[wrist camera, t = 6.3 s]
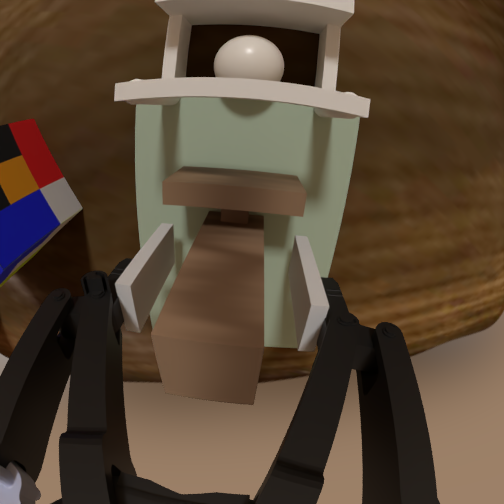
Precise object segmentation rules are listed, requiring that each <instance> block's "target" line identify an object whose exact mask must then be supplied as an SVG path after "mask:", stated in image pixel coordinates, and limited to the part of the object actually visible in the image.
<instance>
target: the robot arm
mask: <svg viewBox="0 0 504 504" xmlns="http://www.w3.org/2000/svg"><path fill="white" fill-rule="evenodd" d="M174 264H175V252H174V227H173V224H168V223H161V225H160V226H159V227H158V228H157V230H156V231H155V232H154V233H153V234H152V236H151V237H150V238H149V239H148V241H147V242H146V243H145V244H144V246H143V247H142V248H141V249H140V251H139V252H138V253H137V255H136V256H135V257H134V258H133V259H128V258H126V259H124V260H123V261H121V262H119V264H118V265H117V266H116V267H115V269H114V270H113V271H112V272H111V274H110V275H109V276H108V277H107V274H106V273H105V272H103V271H91V272H89V273H86V274H85V275H84V276H82V278H81V284H82V287H83V291H84V294H85V296H80V297H72V296H71V293H70V291H69V290H68V289H65V288H59V289H56V290H54V291H52V292H51V293H50V294H49V295H48V296H47V298H46V299H45V300H44V302H43V303H42V305H41V306H40V308H39V309H38V311H37V312H36V314H35V316H34V317H33V319H32V320H31V322H30V323H29V325H28V327H27V328H26V330H25V332H24V333H23V335H22V337H21V338H20V340H19V342H18V344H17V345H16V347H15V349H14V351H13V353H12V354H11V356H10V358H9V360H8V362H7V364H6V366H5V368H4V370H3V372H2V374H1V376H0V504H35V500H36V501H37V500H39V499H40V497H41V494H40V491H39V490H38V488H37V487H36V485H35V482H36V480H37V478H38V476H39V473H40V471H41V468H42V464H43V460H44V456H45V453H46V448H47V445H48V441H49V437H50V433H51V430H52V426H53V423H54V420H55V416H56V413H57V410H58V407H59V404H60V401H61V398H62V395H63V392H64V389H65V386H66V384H67V381H68V378H69V375H70V373H71V378H70V388H69V401H68V402H69V403H68V424H67V431H66V432H65V433H62V434H61V436H60V439H59V466H60V482H61V493H62V498H61V499H59V500H57V501H55V502H53V503H51V504H316V503H317V500H318V498H319V495H320V493H321V490H322V487H323V484H324V477H323V472H324V469H325V466H326V463H327V460H328V456H329V454H330V450H331V447H332V444H333V441H334V437H335V434H336V431H337V427H338V424H339V420H340V416H341V412H342V409H343V404H344V400H345V396H346V392H347V387H348V383H349V378H350V374H351V369H355V370H356V372H357V382H358V392H359V404H360V417H361V433H362V459H363V460H362V461H363V497H362V504H440V503H439V500H438V498H437V489H436V479H435V471H434V463H433V456H432V450H431V443H430V438H429V432H428V428H427V423H426V418H425V413H424V408H423V405H422V400H421V396H420V392H419V388H418V384H417V380H416V377H415V373H414V370H413V366H412V363H411V359H410V356H409V352H408V349H407V346H406V343H405V340H404V337H403V334H402V332H401V330H400V329H399V328H398V327H397V326H396V325H394V324H392V323H388V322H382V323H379V324H378V325H377V327H376V329H373V328H369V327H365V326H362V325H360V324H359V320H358V319H357V317H355V316H354V315H353V314H351V313H349V311H348V309H347V306H346V303H345V300H344V298H343V297H342V292H341V290H340V287H339V285H338V283H337V282H336V281H335V280H334V279H333V278H326V277H320V274H319V271H318V267H317V264H316V261H315V258H314V255H313V252H312V249H311V246H310V243H309V240H308V237H307V236H298V235H295V238H294V244H293V250H292V255H291V261H290V266H289V272H288V276H289V284H290V291H291V298H292V306H293V314H294V322H295V330H296V338H297V346H298V351H314V350H315V347H316V345H317V346H318V353H317V356H316V358H315V361H314V363H313V366H312V370H311V372H310V375H309V378H308V381H307V383H306V386H305V389H304V391H303V394H302V397H301V399H300V402H299V404H298V407H297V409H296V411H295V414H294V416H293V419H292V421H291V423H290V426H289V428H288V430H287V433H286V435H285V437H284V440H283V442H282V444H281V446H280V449H279V451H278V453H277V455H276V457H275V459H274V461H273V463H272V465H271V467H270V469H269V471H268V474H267V476H266V477H265V480H264V482H263V483H262V485H261V487H260V489H259V490H258V492H257V494H256V496H255V498H254V500H250V499H249V498H250V495H240V494H239V495H238V494H227V493H217V492H216V493H204V494H184V495H183V494H179V493H176V492H174V491H172V490H170V489H167V488H165V487H163V486H161V485H159V484H157V483H154V482H153V481H151V480H148V479H144V478H140V477H137V474H136V471H135V468H134V466H133V464H132V462H131V458H130V451H129V444H128V436H127V429H126V419H125V408H124V394H123V373H122V332H121V329H120V327H121V326H122V324H123V322H124V324H125V328H126V330H128V331H133V332H138V333H140V332H141V330H142V328H143V326H144V324H145V322H146V319H147V317H148V315H149V313H150V311H151V309H152V307H153V305H154V303H155V301H156V299H157V297H158V295H159V293H160V291H161V289H162V287H163V285H164V283H165V281H166V279H167V277H168V275H169V273H170V271H171V269H172V268H173V266H174ZM58 331H59V334H58ZM57 334H58V335H57Z"/></svg>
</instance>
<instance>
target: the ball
mask: <svg viewBox="0 0 504 504" xmlns="http://www.w3.org/2000/svg"><path fill="white" fill-rule="evenodd" d="M214 73H215V76H216V77H223V78H244V79H258V80H268V81H278V82H280V80H281V78H282V76H283V73H284V60H283V57H282V54H281V52H280V51H279V49H278V48H277V47H276V46H275V45H274V44H273V43H272V42H271V41H269V40H267V39H265V38H263V37H260V36H256V35H243V36H238V37H235V38H233V39H231V40H229V41H228V42H226V43H225V44H224V45H223V46H222V47H221V48H220V49H219V51H218V52H217V54H216V57H215V60H214Z"/></svg>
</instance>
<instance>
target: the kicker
mask: <svg viewBox="0 0 504 504" xmlns="http://www.w3.org/2000/svg"><path fill="white" fill-rule="evenodd" d="M306 197H307V193H306V191H305V189H304V187H303V185H302V184H301V182H300V180H299V178H298V176H296V175H288V174H279V173H270V172H260V171H250V170H238V169H225V168H210V167H192V166H183V167H182V168H180V169H179V170H178V171H176V172H175V173H173V174H172V175H171V176H169V177H168V178H166V179H165V180H164V181H162V198H163V205H177V206H191V207H205V208H217V209H221V212H217V211H209V212H208V214H207V216H206V218H205V220H204V222H203V224H202V226H201V228H200V230H199V232H198V234H197V236H196V238H195V240H194V242H193V244H192V246H191V248H190V250H189V252H188V254H187V256H186V258H185V260H184V262H183V264H182V267H181V269H180V271H179V273H178V275H177V277H176V279H175V281H174V284H173V286H172V288H171V290H170V292H169V294H168V297H167V299H166V301H165V303H164V305H163V308H162V310H161V312H160V314H159V317H158V319H157V321H156V324H155V326H154V328H153V330H152V333H151V337H152V342H153V346H154V351H155V355H156V359H157V363H158V367H159V371H160V375H161V379H162V383H163V386H164V390H165V393H167V394H172V395H177V396H183V397H189V398H196V399H202V400H210V401H218V402H227V403H238V404H249V405H253V404H254V399H255V394H256V389H257V384H258V379H259V373H260V368H261V363H262V358H263V352H264V216H261V215H251V214H249V211H251V212H261V213H271V214H281V215H290V216H299V217H303V215H304V209H305V203H306Z"/></svg>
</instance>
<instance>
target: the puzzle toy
mask: <svg viewBox="0 0 504 504" xmlns="http://www.w3.org/2000/svg"><path fill="white" fill-rule="evenodd" d="M82 209H83V208H82V206H81V205H80V203H79V202H78V200H77V198H76V197H75V195H74V193H73V192H72V190H71V188H70V187H69V185H68V183H67V182H66V180H65V178H64V176H63V175H62V173H61V171H60V169H59V168H58V166H57V164H56V162H55V160H54V158H53V157H52V155H51V153H50V151H49V149H48V147H47V145H46V143H45V141H44V139H43V137H42V135H41V133H40V131H39V129H38V127H37V125H36V122H35V120H34V119H29V120H24V121H19V122H15V123H10V124H6V125H2V126H0V287H1V286H2V285H3V284H4V283H5V282H6V281H7V280H8V279H9V278H11V277H12V276H13V275H14V274H15V273H16V272H17V271H18V270H19V269H20V268H21V267H22V266H23V265H25V264H26V263H27V262H28V261H29V260H30V259H31V258H32V257H34V256H35V255H36V254H37V252H38V251H39V250H40V249H41V248H42V247H43V246H44V245H45V244H46V243H47V242H48V241H49V240H50V239H51V238H52V237H53V236H54V235H55V234H56V233H57V232H58V231H59V230H60V229H61V228H62V227H63V226H64V225H66V224H67V223H68V222H69V221H70V220H71V219H72V218H73V217H74V216H75V215H76V214H77V213H79V212H80V211H81V210H82Z"/></svg>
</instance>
